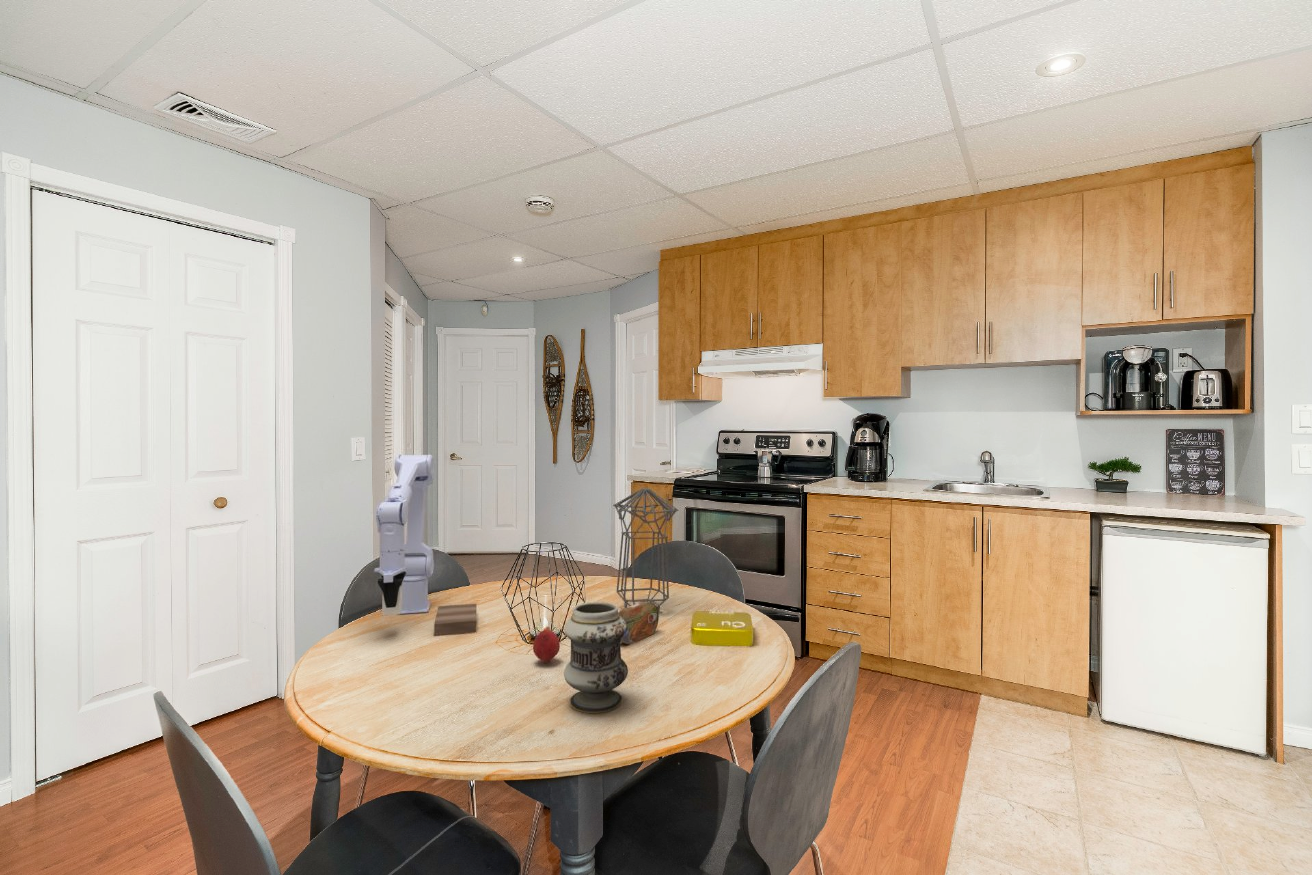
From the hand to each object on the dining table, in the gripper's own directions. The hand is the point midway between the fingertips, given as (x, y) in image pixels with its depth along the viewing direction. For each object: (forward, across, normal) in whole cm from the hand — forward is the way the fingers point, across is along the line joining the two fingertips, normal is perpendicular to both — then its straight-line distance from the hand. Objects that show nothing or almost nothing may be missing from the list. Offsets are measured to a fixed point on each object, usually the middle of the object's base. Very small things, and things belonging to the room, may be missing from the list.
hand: (392, 604), depth 152 cm
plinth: (+8, -5, +15) cm, 18 cm away
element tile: (+8, +22, +79) cm, 82 cm away
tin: (+8, +18, +58) cm, 61 cm away
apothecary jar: (+8, +50, +42) cm, 66 cm away
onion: (+8, +28, +35) cm, 46 cm away
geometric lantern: (+8, -4, +66) cm, 67 cm away
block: (+2, 0, 0) cm, 2 cm away
